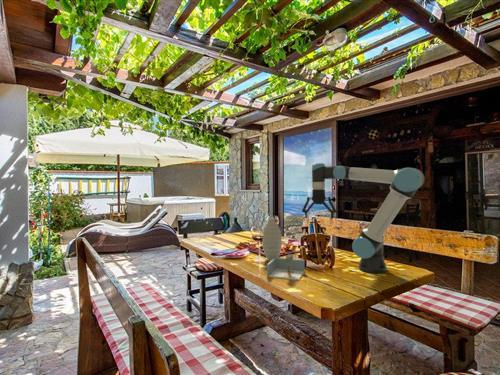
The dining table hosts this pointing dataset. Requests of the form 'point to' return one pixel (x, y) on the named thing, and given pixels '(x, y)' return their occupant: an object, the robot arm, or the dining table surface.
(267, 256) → the vase
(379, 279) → the dining table surface
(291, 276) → the tray
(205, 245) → the dining table surface
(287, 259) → the mechanical component
